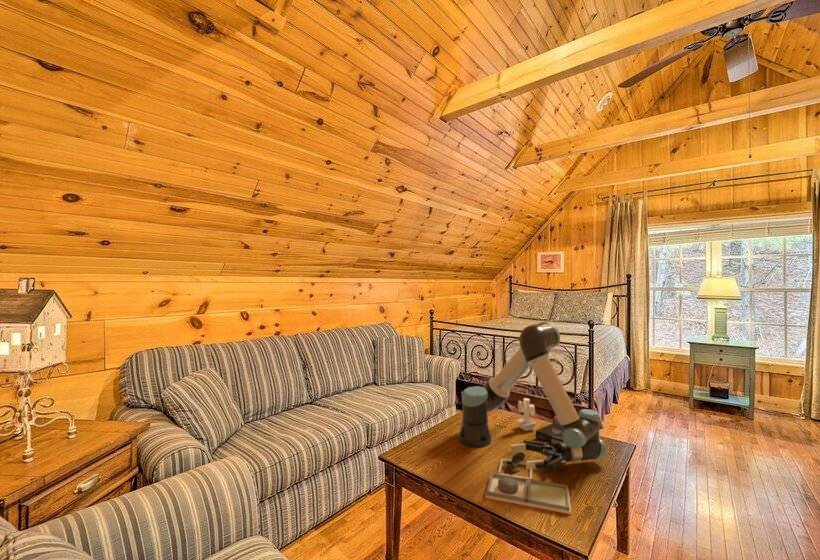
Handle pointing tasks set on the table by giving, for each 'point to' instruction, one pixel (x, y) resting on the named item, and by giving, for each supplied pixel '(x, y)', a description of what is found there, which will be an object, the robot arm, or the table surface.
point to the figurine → (526, 415)
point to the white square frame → (517, 463)
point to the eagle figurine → (515, 461)
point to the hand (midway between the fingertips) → (518, 456)
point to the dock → (529, 492)
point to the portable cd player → (551, 433)
